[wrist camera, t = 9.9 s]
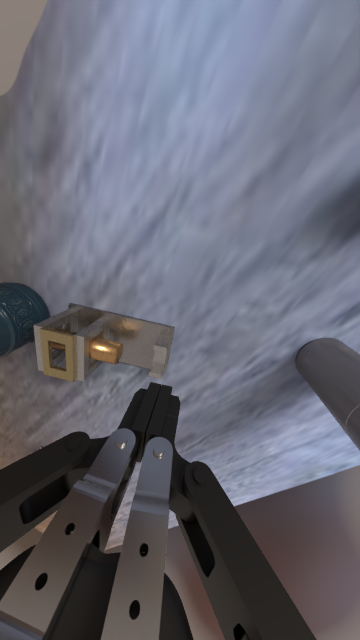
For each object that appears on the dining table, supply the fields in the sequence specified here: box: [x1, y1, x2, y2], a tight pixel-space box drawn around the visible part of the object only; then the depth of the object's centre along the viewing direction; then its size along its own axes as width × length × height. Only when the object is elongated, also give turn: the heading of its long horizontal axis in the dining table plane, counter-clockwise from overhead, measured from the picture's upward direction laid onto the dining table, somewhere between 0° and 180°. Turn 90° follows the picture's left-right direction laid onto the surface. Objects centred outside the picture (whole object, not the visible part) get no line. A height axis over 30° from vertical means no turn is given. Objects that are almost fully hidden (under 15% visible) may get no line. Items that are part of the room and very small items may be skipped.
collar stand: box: [33, 303, 175, 382], centre depth 35 cm, size 22×11×10 cm, turn 79°
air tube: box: [51, 328, 123, 365], centre depth 35 cm, size 13×4×4 cm, turn 79°
